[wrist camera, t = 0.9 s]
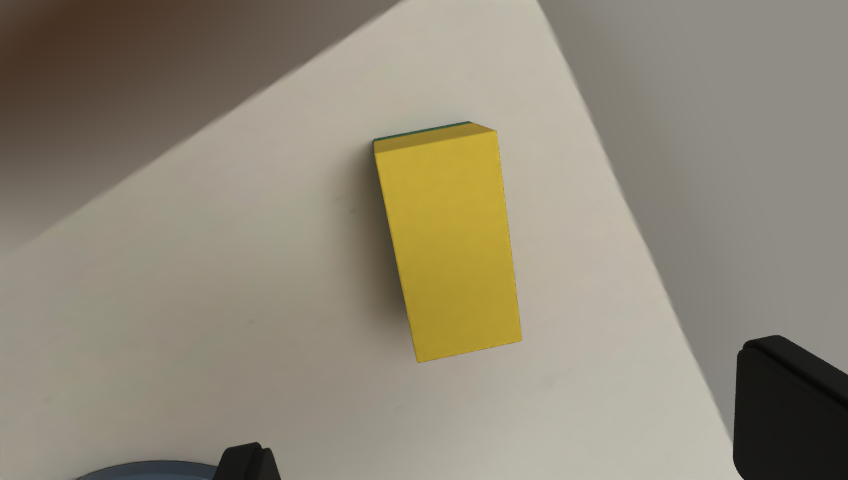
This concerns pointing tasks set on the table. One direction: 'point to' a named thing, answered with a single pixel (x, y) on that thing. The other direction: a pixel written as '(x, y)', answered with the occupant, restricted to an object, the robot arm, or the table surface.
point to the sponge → (450, 237)
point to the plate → (155, 471)
